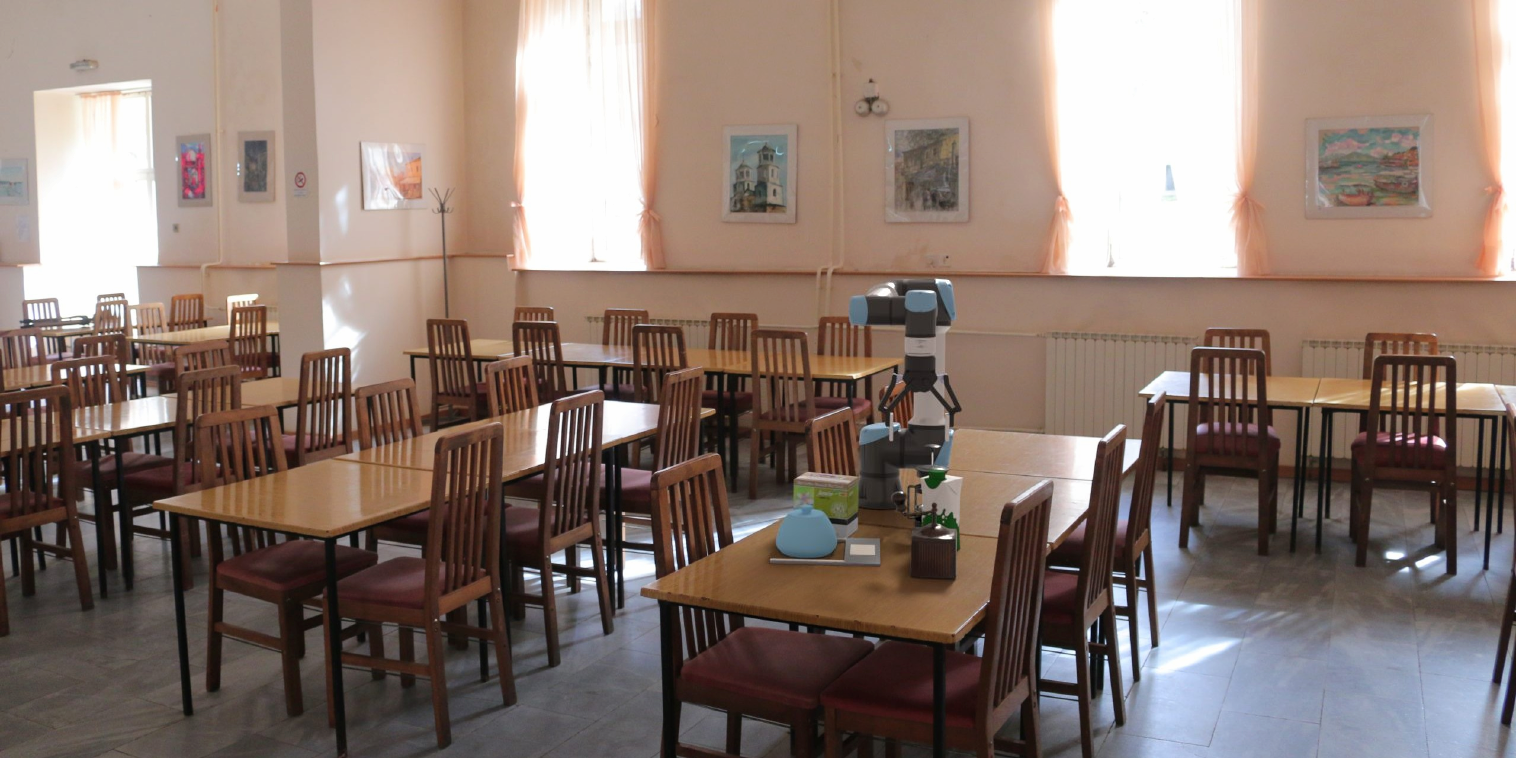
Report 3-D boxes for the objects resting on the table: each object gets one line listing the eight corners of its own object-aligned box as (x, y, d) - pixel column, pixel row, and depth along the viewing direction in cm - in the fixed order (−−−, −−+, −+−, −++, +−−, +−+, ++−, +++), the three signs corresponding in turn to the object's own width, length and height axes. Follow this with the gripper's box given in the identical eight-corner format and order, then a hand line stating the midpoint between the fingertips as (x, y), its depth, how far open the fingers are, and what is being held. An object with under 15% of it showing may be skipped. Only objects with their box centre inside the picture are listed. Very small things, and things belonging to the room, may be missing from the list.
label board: (777, 538, 298) (777, 535, 298) (879, 540, 295) (879, 537, 295) (769, 563, 275) (769, 560, 275) (880, 566, 273) (880, 563, 273)
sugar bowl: (805, 540, 296) (805, 495, 295) (849, 551, 286) (849, 505, 284) (763, 551, 286) (763, 505, 284) (807, 563, 275) (808, 515, 274)
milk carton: (915, 549, 287) (916, 469, 285) (936, 542, 294) (937, 464, 291) (945, 555, 281) (946, 474, 279) (966, 548, 288) (967, 469, 285)
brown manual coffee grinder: (957, 566, 272) (958, 491, 270) (956, 580, 261) (957, 502, 259) (890, 563, 275) (891, 489, 273) (887, 577, 264) (887, 499, 262)
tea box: (792, 533, 302) (792, 478, 300) (805, 524, 312) (805, 470, 310) (847, 539, 297) (847, 482, 295) (859, 530, 306) (859, 475, 304)
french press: (955, 528, 307) (957, 443, 304) (947, 537, 298) (949, 449, 295) (912, 524, 311) (913, 440, 308) (902, 533, 302) (904, 446, 299)
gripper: (868, 355, 279) (868, 442, 282) (973, 356, 277) (972, 443, 280) (868, 352, 287) (867, 436, 289) (970, 352, 285) (968, 437, 288)
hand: (919, 440), depth 285 cm, fingers open, 13 cm apart
